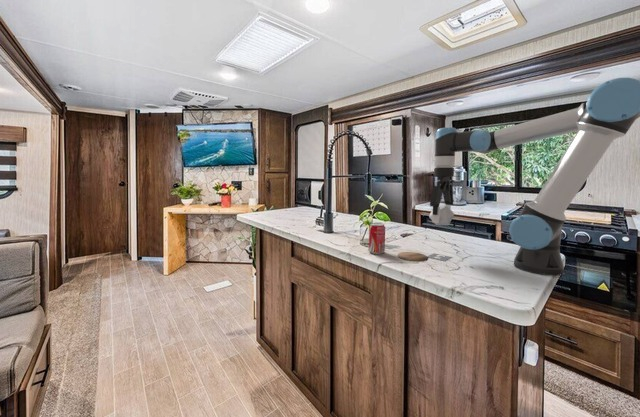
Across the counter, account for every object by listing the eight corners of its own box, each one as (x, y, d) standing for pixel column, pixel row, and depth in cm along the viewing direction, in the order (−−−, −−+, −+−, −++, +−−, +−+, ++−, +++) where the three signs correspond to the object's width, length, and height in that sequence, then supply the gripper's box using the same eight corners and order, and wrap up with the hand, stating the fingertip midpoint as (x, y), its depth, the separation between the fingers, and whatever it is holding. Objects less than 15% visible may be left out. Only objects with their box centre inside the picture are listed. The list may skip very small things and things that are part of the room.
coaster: (432, 257, 125) (432, 256, 125) (418, 263, 117) (418, 261, 117) (406, 251, 134) (406, 250, 134) (392, 256, 126) (392, 255, 125)
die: (450, 229, 117) (461, 208, 119) (430, 217, 118) (441, 197, 120) (441, 232, 125) (451, 213, 128) (422, 221, 126) (433, 202, 129)
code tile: (452, 257, 125) (452, 257, 125) (444, 261, 120) (444, 260, 120) (434, 253, 131) (434, 253, 131) (425, 257, 125) (425, 256, 125)
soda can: (386, 252, 133) (387, 223, 131) (381, 255, 127) (382, 226, 125) (372, 249, 137) (373, 222, 135) (365, 253, 131) (366, 224, 129)
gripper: (446, 167, 131) (443, 217, 133) (422, 166, 115) (419, 223, 118) (464, 167, 125) (460, 219, 128) (441, 166, 110) (438, 225, 113)
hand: (441, 221), depth 123 cm, fingers closed on die, 10 cm apart
